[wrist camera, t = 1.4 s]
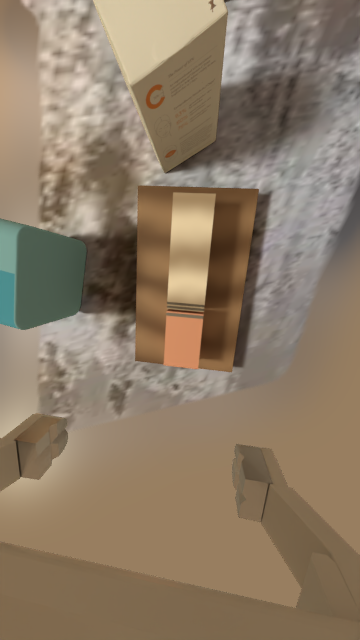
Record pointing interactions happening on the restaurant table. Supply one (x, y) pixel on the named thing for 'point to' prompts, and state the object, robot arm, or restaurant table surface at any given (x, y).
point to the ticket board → (218, 273)
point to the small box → (170, 68)
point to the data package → (38, 275)
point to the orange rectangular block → (183, 338)
